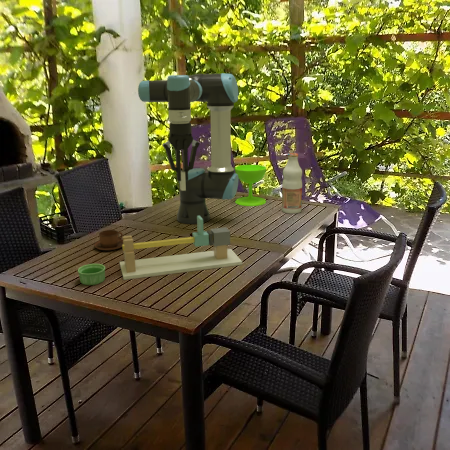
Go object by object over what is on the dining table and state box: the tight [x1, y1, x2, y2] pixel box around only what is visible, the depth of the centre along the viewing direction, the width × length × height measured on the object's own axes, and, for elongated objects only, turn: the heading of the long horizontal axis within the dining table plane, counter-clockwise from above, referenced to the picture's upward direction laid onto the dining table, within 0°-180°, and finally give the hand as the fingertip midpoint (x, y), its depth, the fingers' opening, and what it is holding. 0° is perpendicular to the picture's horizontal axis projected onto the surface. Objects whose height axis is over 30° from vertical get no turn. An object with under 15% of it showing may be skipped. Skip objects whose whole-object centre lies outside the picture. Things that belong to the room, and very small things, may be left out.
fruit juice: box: [281, 152, 303, 215], centre depth 242 cm, size 9×9×28 cm
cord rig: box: [119, 226, 243, 281], centre depth 181 cm, size 14×42×12 cm, turn 106°
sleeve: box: [192, 216, 210, 248], centre depth 181 cm, size 5×5×10 cm
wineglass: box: [234, 164, 267, 207], centre depth 261 cm, size 16×16×18 cm
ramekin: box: [77, 263, 106, 286], centre depth 170 cm, size 9×9×4 cm
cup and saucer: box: [93, 229, 124, 251], centre depth 201 cm, size 12×12×6 cm
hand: (183, 189), depth 180 cm, fingers closed
